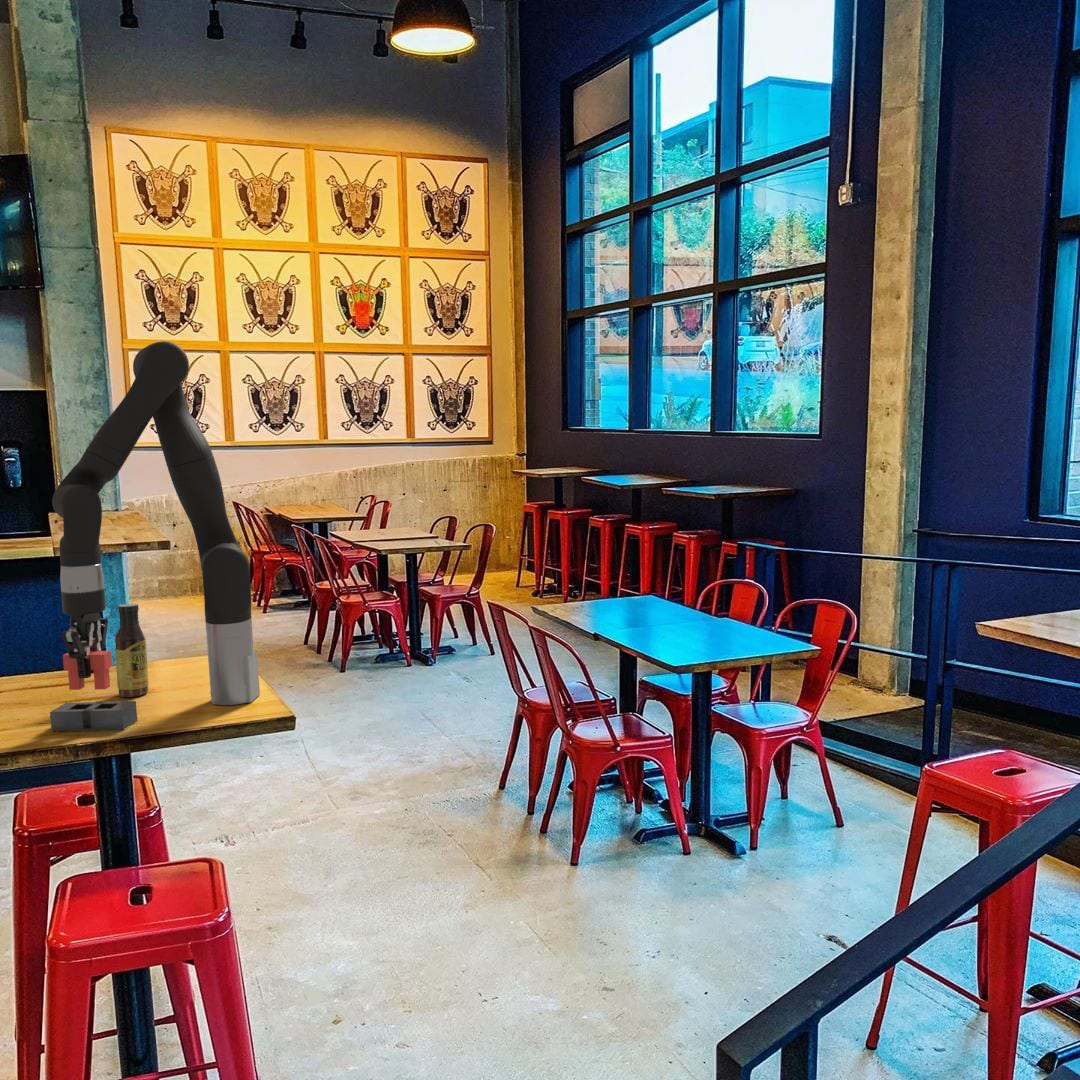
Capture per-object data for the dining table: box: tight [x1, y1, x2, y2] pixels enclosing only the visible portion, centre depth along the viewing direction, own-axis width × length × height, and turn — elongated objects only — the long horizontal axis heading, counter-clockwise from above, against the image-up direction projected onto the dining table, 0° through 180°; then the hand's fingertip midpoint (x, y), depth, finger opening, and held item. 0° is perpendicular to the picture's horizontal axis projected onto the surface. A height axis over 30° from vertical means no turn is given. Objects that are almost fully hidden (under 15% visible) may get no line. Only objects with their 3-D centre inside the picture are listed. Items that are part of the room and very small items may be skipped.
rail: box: [49, 700, 138, 732], centre depth 184 cm, size 14×6×4 cm, turn 89°
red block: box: [62, 650, 113, 691], centre depth 183 cm, size 8×3×7 cm, turn 89°
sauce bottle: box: [114, 603, 150, 698], centre depth 205 cm, size 6×6×20 cm
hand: (89, 674), depth 183 cm, fingers closed on red block, 3 cm apart
